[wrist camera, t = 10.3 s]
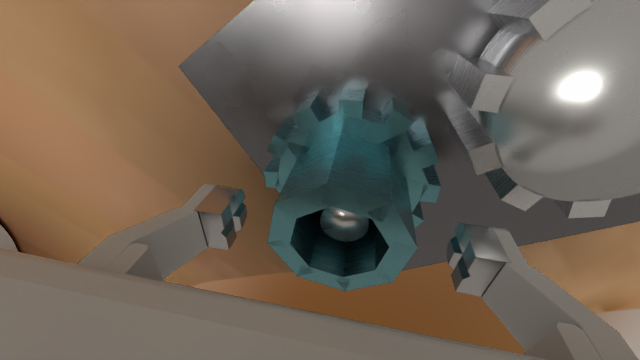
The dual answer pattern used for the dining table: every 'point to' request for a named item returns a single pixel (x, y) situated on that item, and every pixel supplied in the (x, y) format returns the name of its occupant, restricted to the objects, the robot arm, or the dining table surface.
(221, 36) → the carrier plate
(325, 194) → the planet gear
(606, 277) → the dining table surface
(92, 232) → the dining table surface
